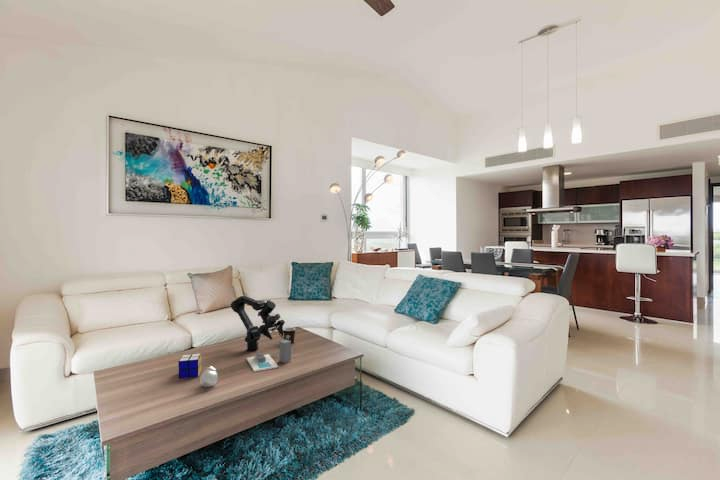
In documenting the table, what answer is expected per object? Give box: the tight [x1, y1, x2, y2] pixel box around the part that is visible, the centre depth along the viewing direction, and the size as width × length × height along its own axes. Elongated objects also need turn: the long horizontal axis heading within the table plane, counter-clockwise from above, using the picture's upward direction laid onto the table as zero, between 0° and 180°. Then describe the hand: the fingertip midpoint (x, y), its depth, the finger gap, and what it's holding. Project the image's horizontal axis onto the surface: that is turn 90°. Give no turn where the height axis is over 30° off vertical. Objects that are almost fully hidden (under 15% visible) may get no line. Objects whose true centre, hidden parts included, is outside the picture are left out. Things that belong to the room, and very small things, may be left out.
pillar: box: [278, 339, 292, 364], centre depth 217 cm, size 5×5×12 cm
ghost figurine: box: [199, 365, 219, 388], centre depth 182 cm, size 9×10×10 cm
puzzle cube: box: [178, 353, 202, 380], centre depth 196 cm, size 10×10×10 cm
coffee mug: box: [278, 327, 296, 345], centre depth 252 cm, size 12×9×10 cm
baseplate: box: [246, 352, 279, 373], centre depth 213 cm, size 22×14×4 cm, turn 29°
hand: (277, 337), depth 221 cm, fingers open, 9 cm apart
